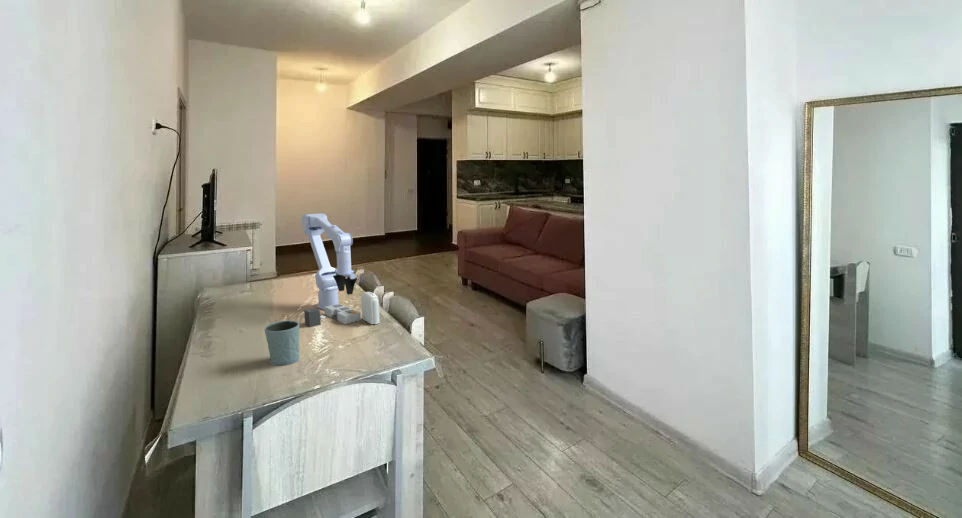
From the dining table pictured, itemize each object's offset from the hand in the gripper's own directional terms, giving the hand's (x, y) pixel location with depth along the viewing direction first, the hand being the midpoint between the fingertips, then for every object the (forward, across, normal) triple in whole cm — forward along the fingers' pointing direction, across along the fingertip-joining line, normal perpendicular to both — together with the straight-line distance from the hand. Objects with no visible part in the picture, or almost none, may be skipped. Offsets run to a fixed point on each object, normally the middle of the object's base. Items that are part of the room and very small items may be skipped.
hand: (345, 292), depth 189 cm
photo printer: (+10, -16, -3) cm, 19 cm away
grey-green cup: (+10, -31, +38) cm, 50 cm away
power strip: (+10, -3, +3) cm, 11 cm away
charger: (+10, -3, +15) cm, 18 cm away
